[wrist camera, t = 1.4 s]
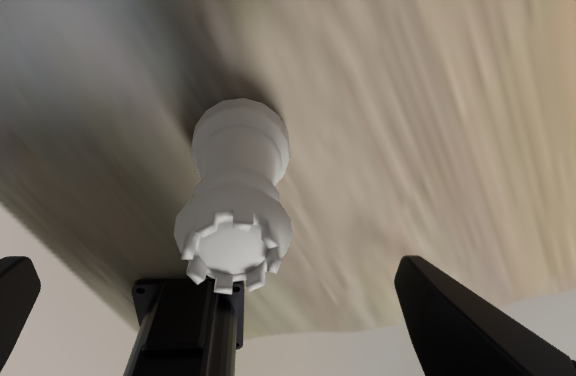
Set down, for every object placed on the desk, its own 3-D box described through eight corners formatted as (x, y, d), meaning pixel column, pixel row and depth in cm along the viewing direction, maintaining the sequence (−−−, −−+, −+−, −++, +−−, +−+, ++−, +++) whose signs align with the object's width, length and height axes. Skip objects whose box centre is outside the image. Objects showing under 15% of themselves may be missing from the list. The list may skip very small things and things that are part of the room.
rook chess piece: (180, 162, 15) (117, 293, 8) (215, 76, 13) (173, 150, 6) (264, 195, 16) (271, 331, 9) (305, 122, 14) (352, 223, 8)
